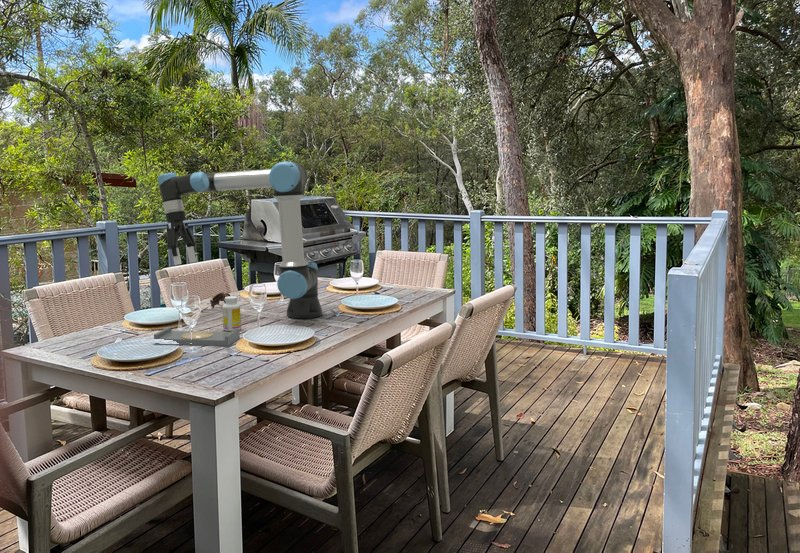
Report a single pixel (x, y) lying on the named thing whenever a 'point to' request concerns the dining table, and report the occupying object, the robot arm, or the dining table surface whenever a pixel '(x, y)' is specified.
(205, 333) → the slate board
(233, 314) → the supplement bottle
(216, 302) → the brown arch
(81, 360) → the dining table surface
